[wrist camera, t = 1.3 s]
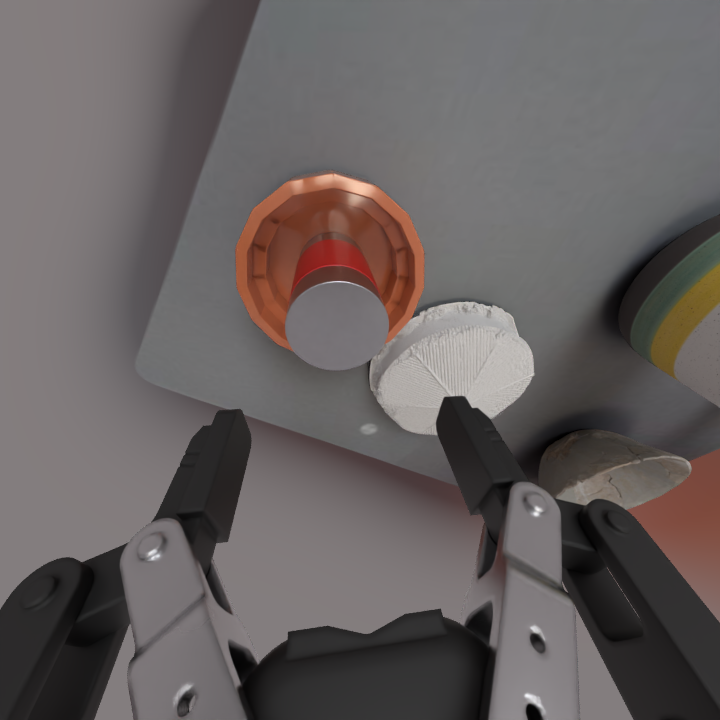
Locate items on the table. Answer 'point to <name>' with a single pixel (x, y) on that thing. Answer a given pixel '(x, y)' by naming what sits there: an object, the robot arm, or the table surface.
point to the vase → (680, 310)
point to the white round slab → (451, 364)
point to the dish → (322, 215)
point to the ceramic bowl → (608, 469)
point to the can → (335, 305)
